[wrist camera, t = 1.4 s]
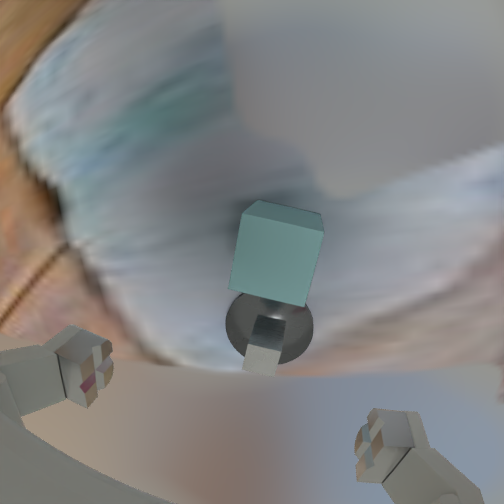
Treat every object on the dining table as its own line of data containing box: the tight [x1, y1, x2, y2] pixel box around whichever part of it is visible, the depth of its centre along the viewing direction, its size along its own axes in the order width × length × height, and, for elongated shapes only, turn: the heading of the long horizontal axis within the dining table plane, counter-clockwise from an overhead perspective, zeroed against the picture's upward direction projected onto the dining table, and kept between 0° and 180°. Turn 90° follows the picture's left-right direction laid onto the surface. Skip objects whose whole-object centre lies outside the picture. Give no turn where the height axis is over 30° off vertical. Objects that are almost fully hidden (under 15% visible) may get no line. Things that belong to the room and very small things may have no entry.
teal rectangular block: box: [228, 200, 324, 307], centre depth 24 cm, size 5×5×7 cm
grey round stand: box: [226, 293, 313, 377], centre depth 27 cm, size 8×8×6 cm
